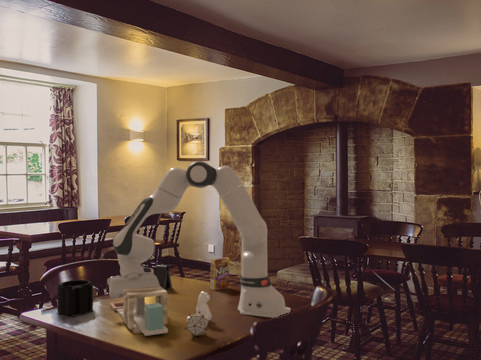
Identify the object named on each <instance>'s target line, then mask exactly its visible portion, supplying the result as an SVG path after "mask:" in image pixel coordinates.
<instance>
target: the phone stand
mask: <svg viewBox="0 0 481 360" xmlns="http://www.w3.org/2000/svg"><path fill="white" fill-rule="evenodd" d="M154 275H155V276H156V277H157V279H158V282H159V285H160V287H162V288H163V289H164V290H166V291H168V290H170V289H172V288H173V284H172V280H171V274H170V266H169V265H162V264H157V265H155V273H154Z"/></svg>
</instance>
